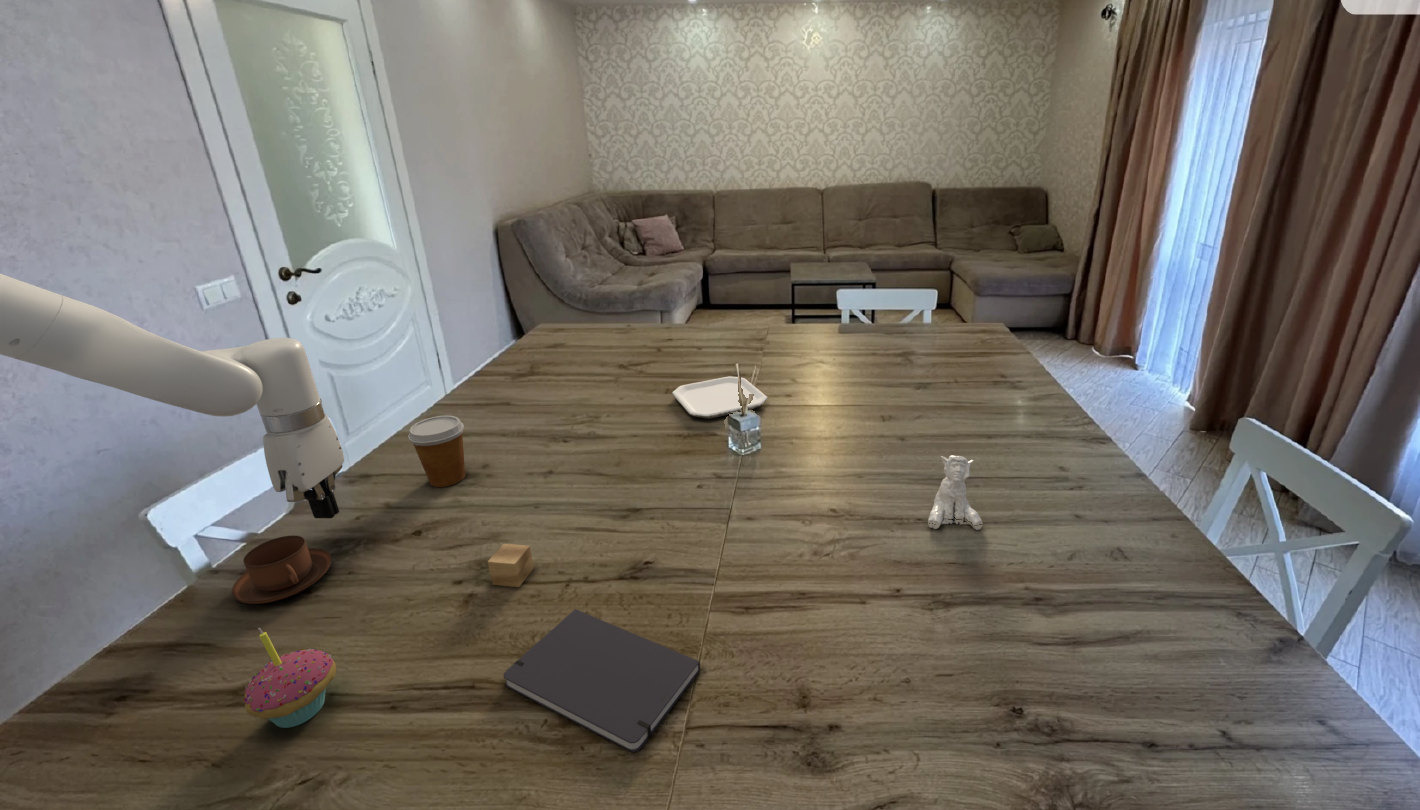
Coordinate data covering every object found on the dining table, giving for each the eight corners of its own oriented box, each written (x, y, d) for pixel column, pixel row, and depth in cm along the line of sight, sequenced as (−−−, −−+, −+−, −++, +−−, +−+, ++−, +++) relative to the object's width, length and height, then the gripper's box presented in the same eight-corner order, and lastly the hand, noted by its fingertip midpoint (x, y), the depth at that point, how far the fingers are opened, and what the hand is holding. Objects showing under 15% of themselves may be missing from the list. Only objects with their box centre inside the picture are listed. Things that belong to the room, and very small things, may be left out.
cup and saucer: (353, 564, 98) (342, 532, 96) (277, 618, 87) (264, 583, 85) (294, 552, 101) (283, 521, 99) (214, 603, 90) (200, 569, 88)
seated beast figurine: (928, 530, 106) (933, 470, 102) (919, 502, 114) (924, 445, 110) (982, 531, 106) (990, 471, 102) (970, 503, 114) (977, 446, 110)
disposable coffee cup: (480, 479, 122) (468, 426, 118) (426, 497, 116) (412, 441, 112) (466, 461, 129) (455, 410, 125) (415, 477, 123) (401, 424, 119)
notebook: (700, 670, 79) (576, 617, 87) (700, 661, 78) (575, 608, 87) (636, 755, 68) (502, 684, 77) (635, 745, 67) (500, 675, 76)
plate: (668, 395, 161) (668, 387, 160) (740, 381, 170) (740, 373, 169) (695, 426, 144) (694, 418, 143) (773, 408, 153) (773, 400, 152)
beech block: (519, 587, 93) (514, 564, 92) (492, 585, 94) (487, 561, 92) (534, 568, 97) (529, 545, 96) (508, 566, 98) (503, 543, 96)
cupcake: (237, 731, 71) (202, 652, 67) (310, 673, 78) (283, 598, 74) (292, 751, 69) (258, 671, 64) (361, 689, 76) (336, 614, 72)
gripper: (306, 397, 103) (336, 490, 109) (229, 439, 89) (268, 544, 95) (350, 397, 102) (378, 490, 109) (280, 439, 89) (316, 544, 95)
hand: (327, 515), depth 102 cm, fingers closed
